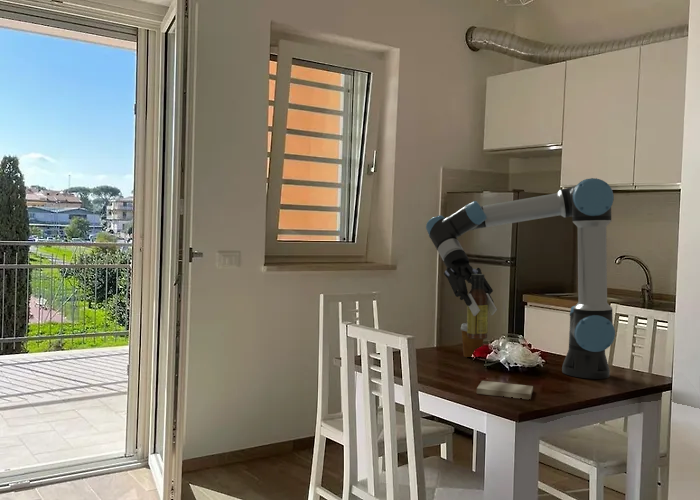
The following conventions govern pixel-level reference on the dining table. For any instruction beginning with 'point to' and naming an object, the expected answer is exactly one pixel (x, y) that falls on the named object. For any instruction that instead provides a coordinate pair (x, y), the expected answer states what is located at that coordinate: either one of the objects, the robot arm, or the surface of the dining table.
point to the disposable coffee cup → (469, 342)
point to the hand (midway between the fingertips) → (485, 312)
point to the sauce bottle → (479, 323)
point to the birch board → (505, 389)
